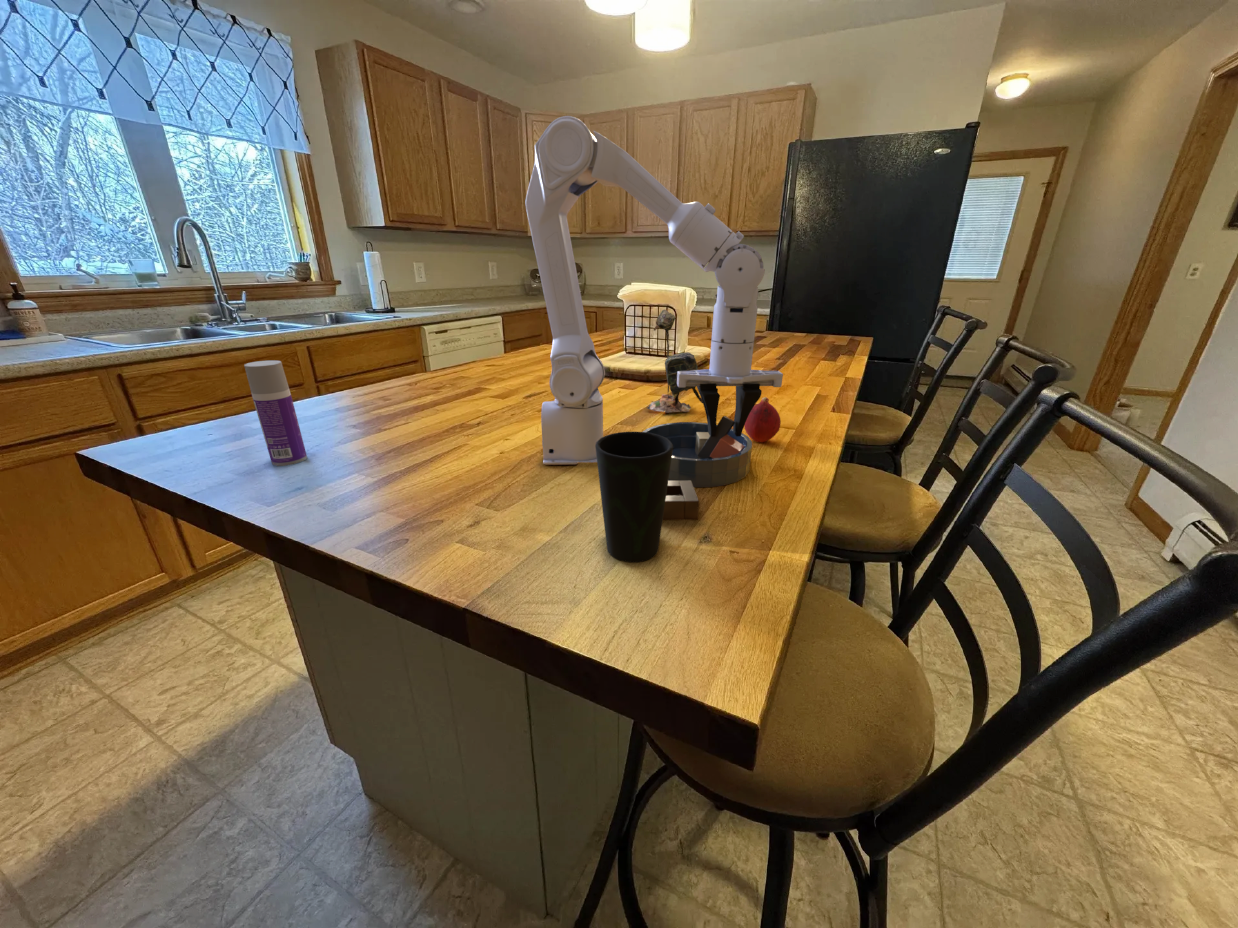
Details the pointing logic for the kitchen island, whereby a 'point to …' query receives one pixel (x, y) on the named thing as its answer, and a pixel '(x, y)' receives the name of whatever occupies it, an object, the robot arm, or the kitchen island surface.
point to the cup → (633, 492)
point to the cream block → (700, 441)
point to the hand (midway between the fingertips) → (724, 434)
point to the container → (276, 412)
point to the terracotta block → (727, 447)
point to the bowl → (695, 468)
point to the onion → (762, 421)
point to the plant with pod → (673, 371)
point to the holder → (681, 501)
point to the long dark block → (716, 437)
